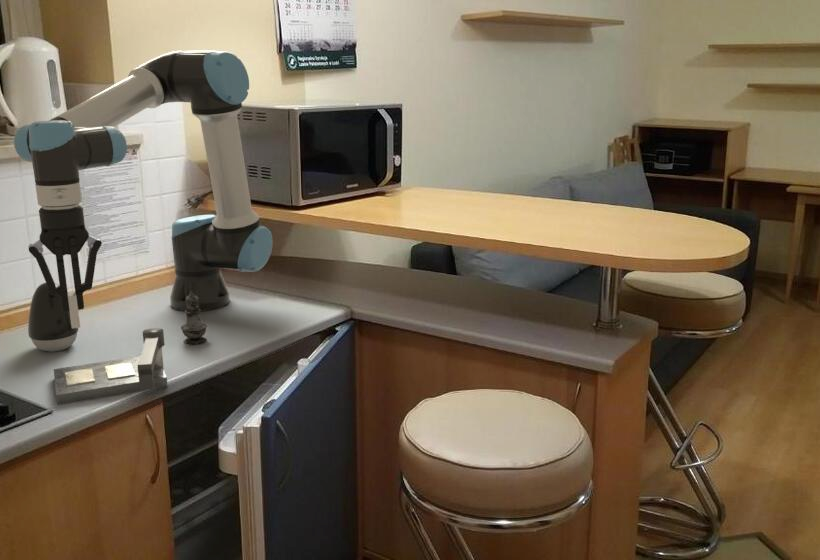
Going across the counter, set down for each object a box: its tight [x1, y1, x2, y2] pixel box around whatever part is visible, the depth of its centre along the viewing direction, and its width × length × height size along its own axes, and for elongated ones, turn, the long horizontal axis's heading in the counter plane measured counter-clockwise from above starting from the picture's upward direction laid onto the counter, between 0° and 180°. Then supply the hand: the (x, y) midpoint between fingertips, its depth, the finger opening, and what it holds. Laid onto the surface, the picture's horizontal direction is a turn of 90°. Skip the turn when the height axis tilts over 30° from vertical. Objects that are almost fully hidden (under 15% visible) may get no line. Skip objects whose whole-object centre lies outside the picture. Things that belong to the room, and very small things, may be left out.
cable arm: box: [137, 327, 166, 391], centre depth 153 cm, size 19×4×6 cm, turn 12°
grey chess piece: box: [180, 291, 208, 346], centre depth 179 cm, size 6×6×12 cm
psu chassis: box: [53, 346, 169, 406], centre depth 157 cm, size 20×14×6 cm
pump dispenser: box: [27, 282, 80, 352], centre depth 175 cm, size 10×10×15 cm
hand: (75, 325), depth 153 cm, fingers closed
